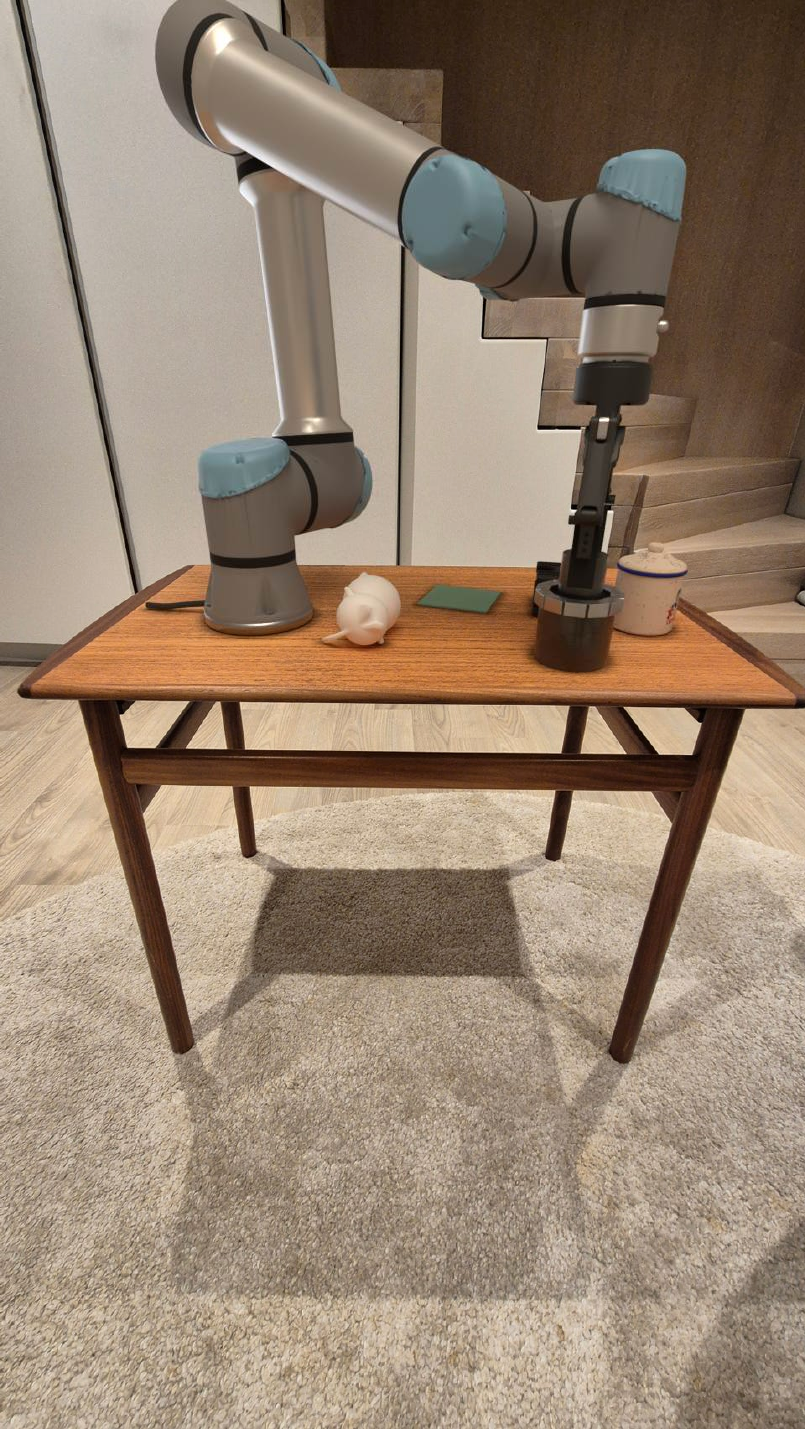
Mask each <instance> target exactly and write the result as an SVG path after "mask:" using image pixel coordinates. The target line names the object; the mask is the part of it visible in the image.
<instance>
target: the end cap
mask: <svg viewBox="0 0 805 1429" xmlns="http://www.w3.org/2000/svg"><path fill="white" fill-rule="evenodd" d="M560 568H561V562H558V561H557V562H556V561H543V560H541V561H540V560H538V561H536V569H535V573H536V577H535V579H534V585H533V595H532V606H531V616H532V617H536V618H538V612H539V606H538V605H537V604H536V603H535V602H534V597H535V589H536V587H537V586H538V584H540V583H543V582H546V581H550V580H553V581H554V580H559V576H560Z"/></svg>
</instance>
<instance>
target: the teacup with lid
mask: <svg viewBox="0 0 805 1429" xmlns="http://www.w3.org/2000/svg"><path fill="white" fill-rule="evenodd" d="M616 567H617V572H616V578H615V582H614V583H615V584H614V586H615V587H616V588H618V589H620V590H621V591H623V592H624V593H625V599H624V605H623V610H622V612H621V613H618V614H616V617H615V622H614V627H613V629H616V630H618V631H621V632H624V633H627V634H630V635H636V636H646V637H655V636H663V635H666V634H668V633H670V632H671V631H672V630H673V626H674V623H675V618H676V614H677V610H678V606H679V602H680V597H681V593H682V589H683V585H684V582H685V581H684V580H685V576H686V575H687V574H688V573H689V572H688V571H689V570H688V566H687V563H686V562H684V561H683V560H681V559H678V558H675V557H674V556H673V555H672V554H671V553H669V552H668V551H665V544H664V543H662V542H657V541H656V542H655V541H654V542H650V543H648V546H647V549H641V550H639V551H637V552H635V553H633V554H627V555H624V556H622V557H620V558H619V560H618V561H617V563H616Z"/></svg>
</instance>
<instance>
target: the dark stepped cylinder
mask: <svg viewBox="0 0 805 1429" xmlns="http://www.w3.org/2000/svg"><path fill="white" fill-rule="evenodd" d="M570 556H571V548H569V549H565V550H563V551H562V555H561V562H560V563H561V568H560V576H559V583H558V590H557V595H558V596H562V597H565V598H569V599H578V600H601V599H602V594H603V589H604V584H606V576H607V570H608V564H609V559H610V554H609V553H608V552H605V551H603V550H602V551H598V557H597V564H596V570H595V576H594V583H593V588H592V589H583V588H573V587H566V586H567V578H568V571H569V563H570ZM615 617H616V614H615V615H613V616H610V617H609V616H607V617H599V618H587V617H586V616H585V618H580V617H572V616H564V615H563V614H561V615H559V614H556V613H553V612H550V611H547V610H544V609H542V608H540V607H539V612H538V617H537V622H536V628H535V637H534V644H533V651H532V652H533V653H532V655H533V658H534V659H535V660H536V662H538V663H539V664H541V665H543V666H545V667H548V668H550V669H552V670H553V669H554V670H556V671H557V670H558V671H563V672H568V673H589V672H596V671H598V670H601V669H603V668H604V667H606V665H607V664H608V658H609V652H610V647H611V643H612V637H613V632H614V622H615Z"/></svg>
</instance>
